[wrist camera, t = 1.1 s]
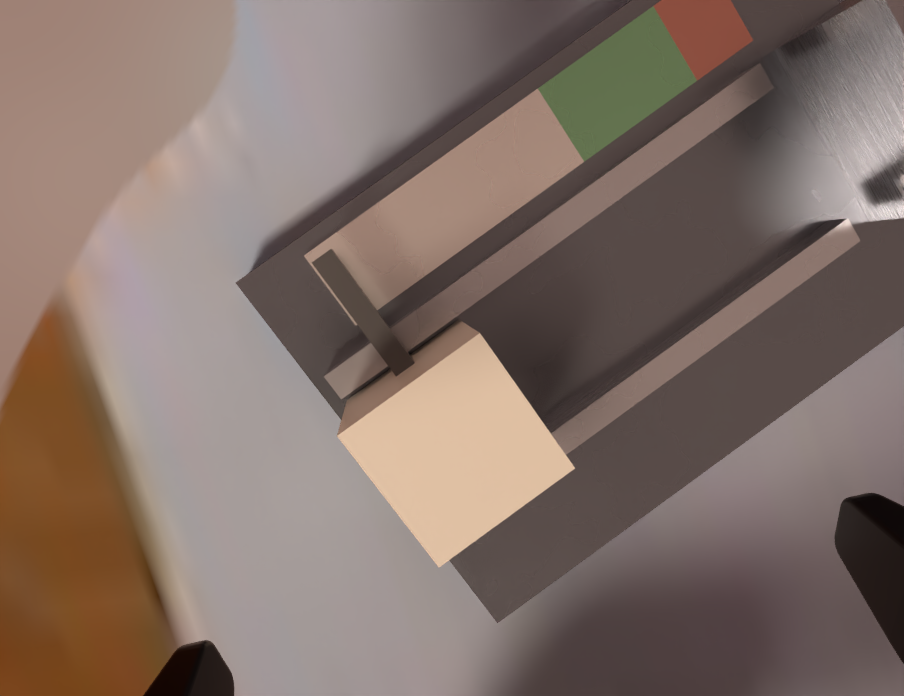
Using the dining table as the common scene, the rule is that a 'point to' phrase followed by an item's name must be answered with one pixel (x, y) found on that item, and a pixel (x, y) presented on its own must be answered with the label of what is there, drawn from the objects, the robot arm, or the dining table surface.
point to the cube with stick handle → (443, 429)
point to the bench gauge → (634, 251)
